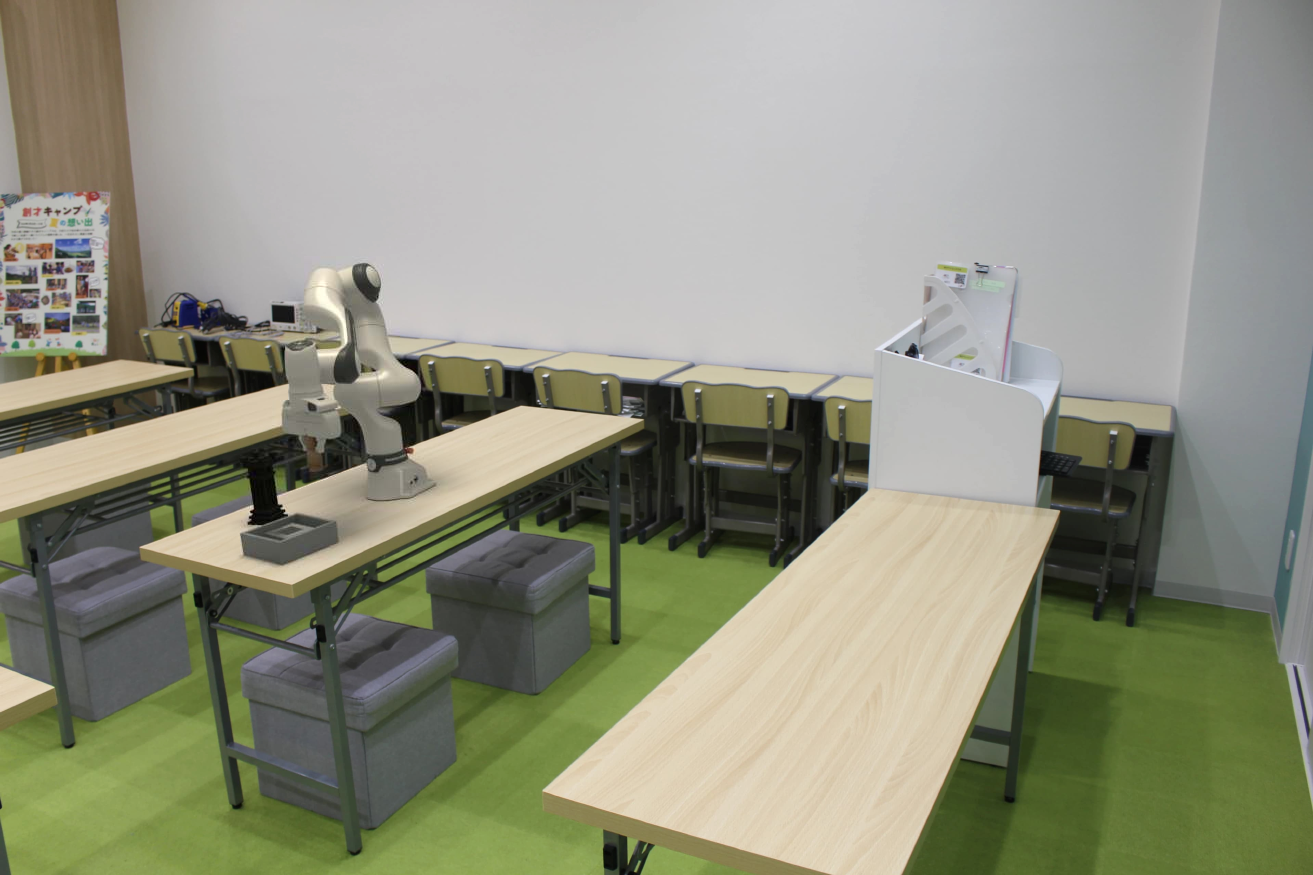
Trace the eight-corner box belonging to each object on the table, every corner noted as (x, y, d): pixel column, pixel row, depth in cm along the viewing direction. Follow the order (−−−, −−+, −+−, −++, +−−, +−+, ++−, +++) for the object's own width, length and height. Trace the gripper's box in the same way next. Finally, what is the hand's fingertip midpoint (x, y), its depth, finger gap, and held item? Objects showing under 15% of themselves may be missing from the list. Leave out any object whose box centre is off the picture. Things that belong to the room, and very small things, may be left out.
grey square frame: (294, 536, 257) (292, 522, 256) (316, 541, 252) (314, 527, 251) (266, 547, 249) (263, 533, 248) (288, 553, 245) (285, 538, 244)
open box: (300, 533, 263) (297, 512, 261) (338, 541, 254) (336, 521, 253) (243, 554, 248) (240, 533, 246) (282, 564, 240) (279, 542, 238)
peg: (317, 467, 259) (311, 425, 256) (326, 468, 257) (320, 426, 254) (306, 470, 256) (300, 428, 253) (315, 472, 254) (309, 429, 251)
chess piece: (272, 525, 270) (262, 458, 265) (247, 524, 271) (237, 458, 266) (288, 516, 277) (278, 451, 272) (264, 515, 279) (254, 450, 274)
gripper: (272, 401, 255) (279, 450, 258) (322, 406, 244) (329, 458, 247) (292, 397, 260) (298, 445, 263) (342, 402, 249) (348, 452, 253)
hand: (314, 451), depth 255 cm, fingers closed on peg, 4 cm apart
